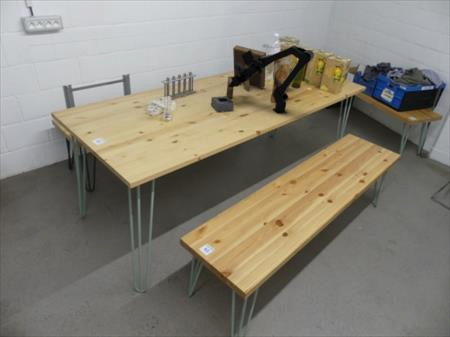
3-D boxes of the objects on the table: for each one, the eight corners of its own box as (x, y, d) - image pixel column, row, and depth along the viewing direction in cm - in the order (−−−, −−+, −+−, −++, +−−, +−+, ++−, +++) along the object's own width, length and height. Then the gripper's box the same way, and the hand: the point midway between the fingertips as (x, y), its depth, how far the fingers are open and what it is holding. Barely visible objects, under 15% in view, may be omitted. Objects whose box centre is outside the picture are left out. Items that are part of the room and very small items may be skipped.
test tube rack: (165, 101, 212) (165, 79, 205) (160, 99, 214) (160, 77, 207) (196, 92, 228) (197, 71, 221) (191, 90, 231) (192, 69, 224)
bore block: (233, 110, 209) (234, 102, 206) (217, 112, 205) (217, 103, 202) (226, 103, 216) (227, 96, 214) (211, 105, 213) (211, 97, 210)
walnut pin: (233, 98, 224) (235, 78, 217) (227, 99, 223) (229, 78, 216) (231, 96, 227) (233, 76, 220) (225, 96, 226) (227, 76, 219)
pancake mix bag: (264, 101, 226) (270, 56, 210) (281, 94, 238) (289, 51, 223) (272, 104, 222) (280, 59, 207) (290, 97, 234) (298, 54, 219)
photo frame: (237, 79, 254) (241, 43, 241) (264, 87, 246) (270, 50, 232) (226, 85, 244) (229, 47, 230) (254, 93, 235) (259, 55, 221)
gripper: (249, 56, 216) (231, 69, 226) (236, 62, 202) (217, 77, 212) (259, 71, 218) (241, 84, 228) (247, 79, 204) (228, 93, 213)
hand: (232, 84), depth 220 cm, fingers open, 9 cm apart
